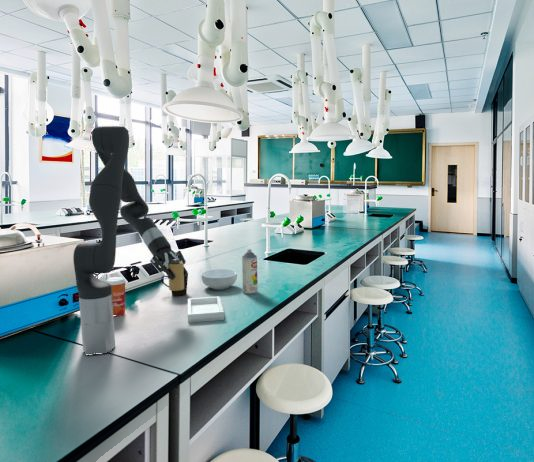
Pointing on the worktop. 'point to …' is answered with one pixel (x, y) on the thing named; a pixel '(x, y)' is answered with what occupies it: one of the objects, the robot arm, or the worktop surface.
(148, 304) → the worktop surface
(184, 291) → the coffee mug
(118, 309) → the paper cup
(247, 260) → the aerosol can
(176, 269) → the amber bottle
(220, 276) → the cereal bowl
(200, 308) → the lab tray
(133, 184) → the robot arm
